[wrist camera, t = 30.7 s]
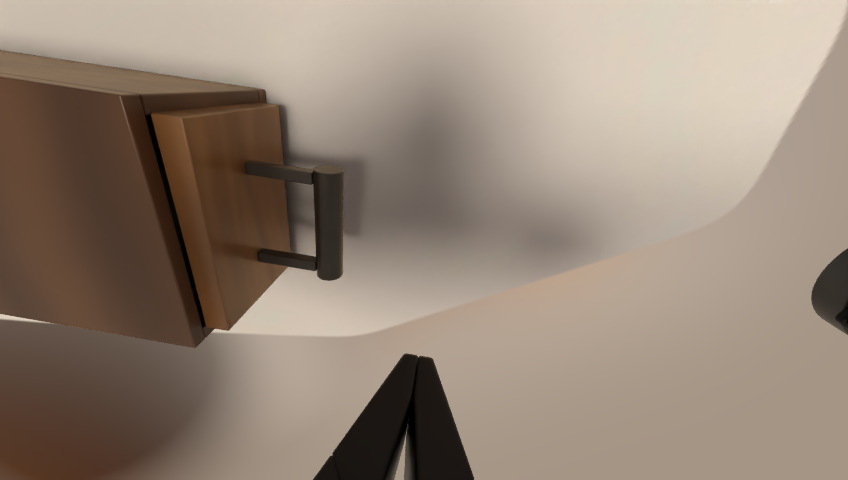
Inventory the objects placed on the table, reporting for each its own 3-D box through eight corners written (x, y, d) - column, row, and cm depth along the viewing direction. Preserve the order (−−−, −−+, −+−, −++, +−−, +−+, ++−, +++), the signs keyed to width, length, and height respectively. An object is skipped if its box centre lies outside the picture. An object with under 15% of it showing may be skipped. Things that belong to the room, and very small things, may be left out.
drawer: (363, 118, 17) (311, 137, 11) (358, 273, 21) (319, 347, 16) (11, 65, 17) (-221, 56, 11) (81, 228, 22) (-58, 281, 16)
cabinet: (265, 89, 17) (120, 94, 10) (282, 261, 23) (195, 348, 15) (-11, 48, 18) (-347, 24, 10) (68, 225, 23) (-117, 294, 16)
